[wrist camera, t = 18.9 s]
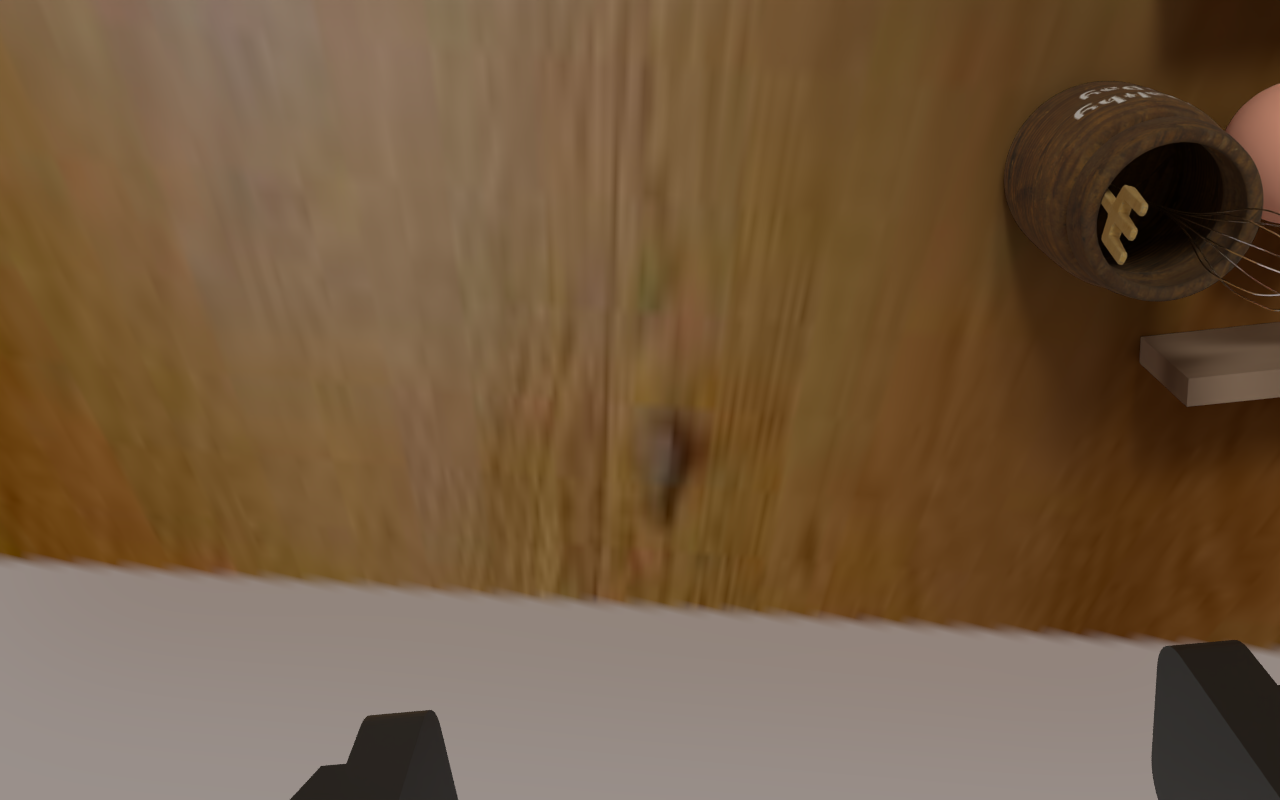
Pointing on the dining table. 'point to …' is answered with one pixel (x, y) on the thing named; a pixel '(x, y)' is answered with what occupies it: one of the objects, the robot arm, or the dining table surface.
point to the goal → (1216, 363)
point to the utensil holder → (1135, 191)
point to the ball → (1262, 143)
